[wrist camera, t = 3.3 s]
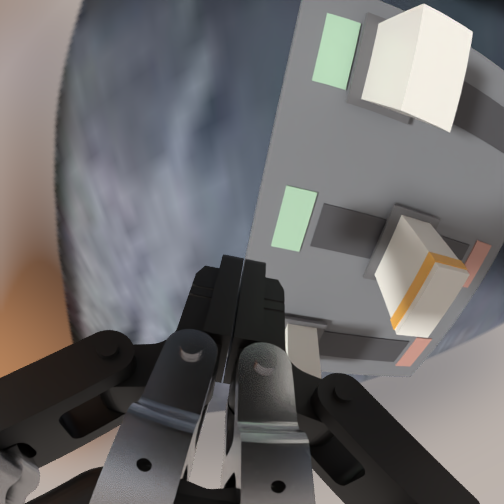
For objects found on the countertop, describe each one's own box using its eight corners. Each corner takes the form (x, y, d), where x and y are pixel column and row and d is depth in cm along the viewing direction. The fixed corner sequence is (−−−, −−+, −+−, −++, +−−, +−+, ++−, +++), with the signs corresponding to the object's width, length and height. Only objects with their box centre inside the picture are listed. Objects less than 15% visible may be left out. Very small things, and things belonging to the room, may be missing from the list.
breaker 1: (326, 322, 19) (334, 385, 15) (304, 364, 22) (306, 420, 18) (280, 315, 19) (279, 379, 15) (264, 358, 22) (260, 416, 17)
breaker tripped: (438, 218, 14) (482, 269, 10) (405, 284, 17) (431, 343, 13) (393, 203, 14) (432, 255, 10) (362, 275, 17) (382, 339, 13)
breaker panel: (523, 103, 12) (551, 112, 9) (403, 352, 26) (410, 377, 23) (302, -6, 11) (307, -22, 9) (230, 329, 25) (224, 357, 22)
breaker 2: (426, 38, 9) (486, 31, 5) (405, 123, 12) (459, 149, 8) (366, 13, 9) (408, -14, 5) (345, 102, 12) (380, 115, 8)
